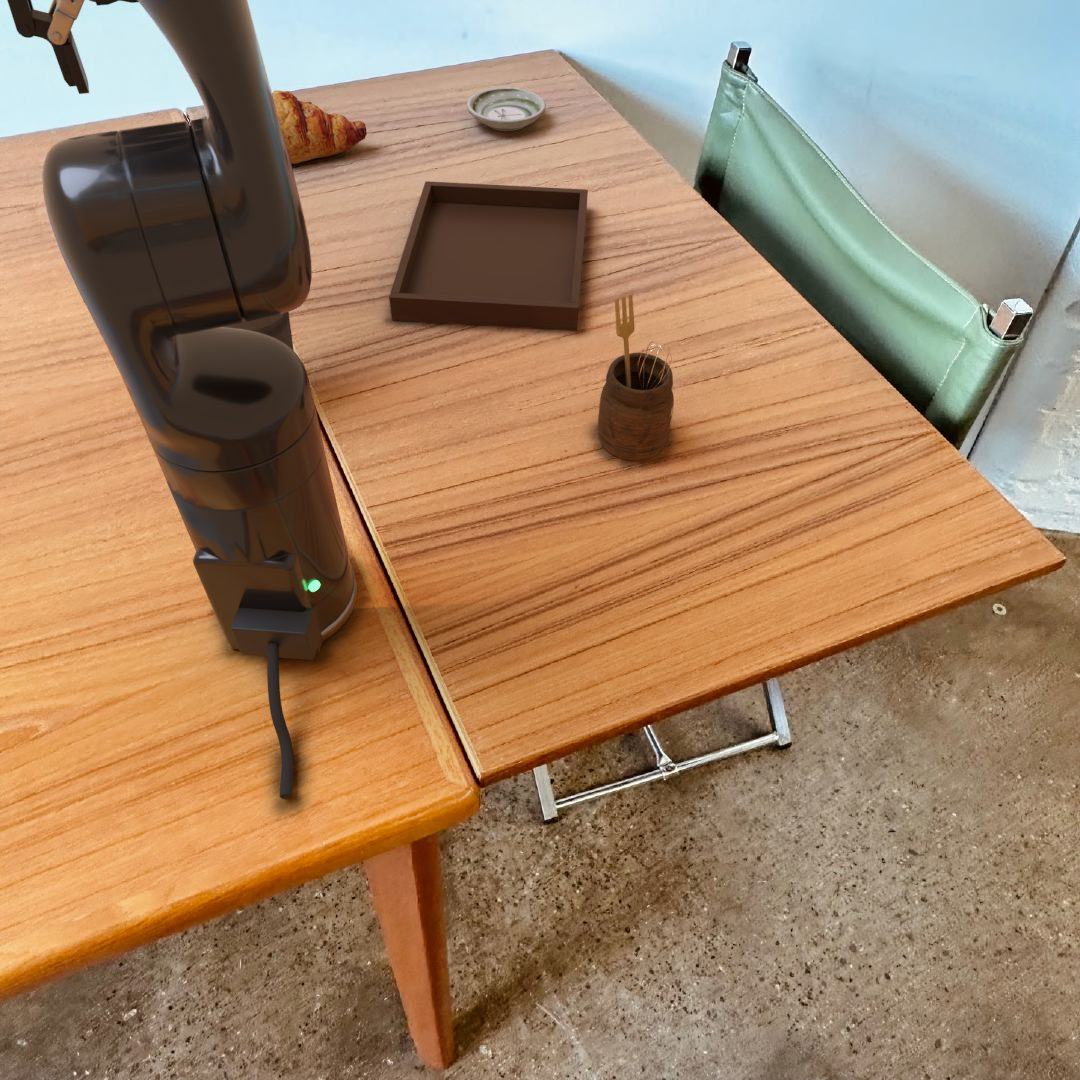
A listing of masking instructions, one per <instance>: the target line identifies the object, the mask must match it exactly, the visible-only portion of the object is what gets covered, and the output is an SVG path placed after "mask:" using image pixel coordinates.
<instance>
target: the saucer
mask: <svg viewBox="0 0 1080 1080" xmlns="http://www.w3.org/2000/svg"><path fill="white" fill-rule="evenodd" d="M546 105H547V104H546V101H545V100H544V98H543V97H541V95H539V94H537V93H536V92H533V91H531V90H528V89H525V88H520V87H514V86H513V87H512V86H499V87H491V88H486V89H482V90H479V91H478V92H476V93H474V94H472V95H471V96H470V97H469V98H468V99H467V102H466V109H467V112H468V113H469V114H470V115H471V116H472V117H474V118H475V119H476V120H477V121H478V122H480V123H482V124H483V125H485V126H488V127H489V128H491V129H492V130H495V131H499V132H514V131H518V130H521V129H523V128H524V127H526V126H530V125H531V124H533V123H534V122H536V121H537V120H538V119H539V118H540V117H541V116H542V115H543V114H544V113H545V111H546Z"/></svg>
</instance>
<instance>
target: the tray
mask: <svg viewBox="0 0 1080 1080" xmlns="http://www.w3.org/2000/svg"><path fill="white" fill-rule="evenodd" d="M588 194H589V190H588V189H585V188H584V189H582V188H565V187H563V188H562V187H544V186H526V185H525V186H524V185H508V184H507V185H505V184H485V183H467V182H466V183H465V182H448V181H431V180H429V181H424V185H423V188H422V191H421V193H420V196H419V200H418V203H417V206H416V210H415V213H414V216H413V219H412V223H411V226H410V229H409V232H408V236H407V237H406V238H407V239H406V242H405V244H404V248H403V251H402V254H401V258H400V261H399V264H398V268H397V271H396V274H395V276H394V277H395V278H394V280H393V283H392V287H391V290H390V293H389V296H388V301H389V307H390V308H389V309H390V314H391V316H390V317H391V321H398V322H414V323H415V322H416V323H429V324H430V323H433V324H448V325H449V324H450V325H451V324H452V325H467V326H468V325H469V326H484V327H485V326H486V327H504V328H521V329H539V330H553V331H554V330H557V331H573V332H578V329H579V328H578V327H579V315H580V303H581V290H582V277H583V265H584V253H585V252H584V249H585V237H586V226H587V225H586V224H587V215H588V214H587V212H588V198H589V197H588V196H589V195H588Z"/></svg>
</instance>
